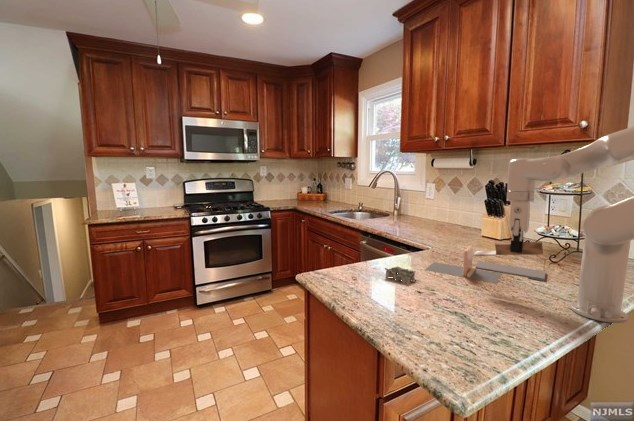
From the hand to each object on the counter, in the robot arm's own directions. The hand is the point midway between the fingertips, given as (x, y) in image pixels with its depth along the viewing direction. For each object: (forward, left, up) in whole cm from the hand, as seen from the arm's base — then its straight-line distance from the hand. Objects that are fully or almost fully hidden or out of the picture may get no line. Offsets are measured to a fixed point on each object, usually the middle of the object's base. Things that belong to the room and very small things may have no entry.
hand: (516, 250), depth 103 cm
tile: (+11, +17, -14) cm, 25 cm away
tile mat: (+11, +19, -15) cm, 26 cm away
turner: (0, +4, -2) cm, 4 cm away
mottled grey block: (-9, +37, -15) cm, 41 cm away
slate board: (+24, +4, -15) cm, 28 cm away
